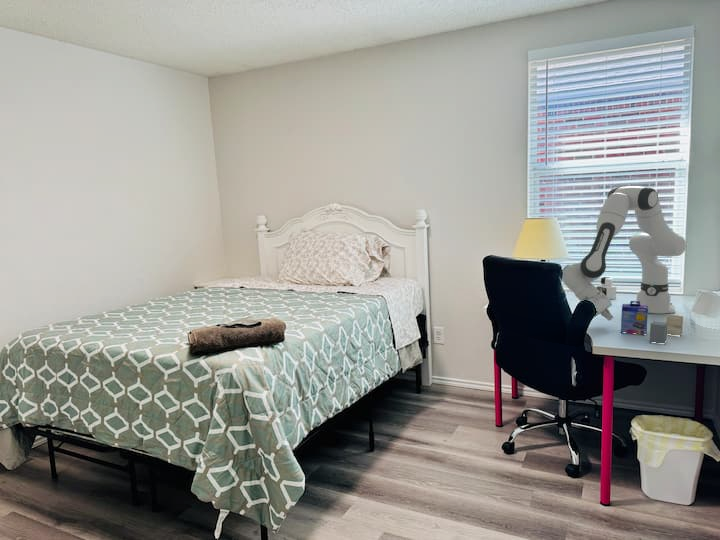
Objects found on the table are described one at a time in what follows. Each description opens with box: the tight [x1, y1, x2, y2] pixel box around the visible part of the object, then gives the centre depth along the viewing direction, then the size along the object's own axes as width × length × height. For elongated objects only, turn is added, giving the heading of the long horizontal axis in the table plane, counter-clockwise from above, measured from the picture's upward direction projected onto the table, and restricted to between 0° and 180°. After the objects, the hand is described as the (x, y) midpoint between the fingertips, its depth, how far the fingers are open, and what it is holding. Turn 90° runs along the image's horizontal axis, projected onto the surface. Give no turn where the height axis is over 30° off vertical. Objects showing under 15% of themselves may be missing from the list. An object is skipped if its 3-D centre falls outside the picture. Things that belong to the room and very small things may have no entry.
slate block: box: [649, 320, 668, 344], centre depth 201 cm, size 5×5×8 cm
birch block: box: [666, 314, 684, 336], centre depth 210 cm, size 5×5×8 cm
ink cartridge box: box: [620, 300, 649, 335], centre depth 215 cm, size 10×6×14 cm, turn 62°
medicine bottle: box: [596, 276, 617, 301], centre depth 282 cm, size 7×7×12 cm
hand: (611, 319), depth 221 cm, fingers closed
